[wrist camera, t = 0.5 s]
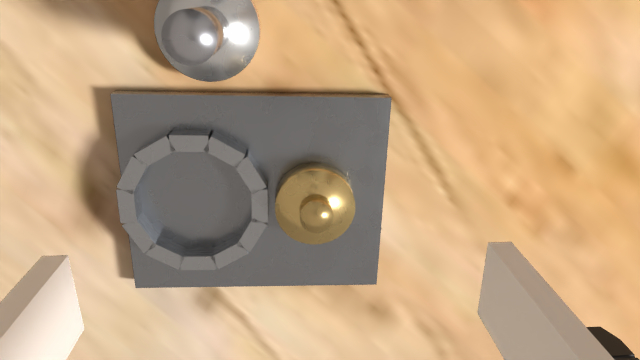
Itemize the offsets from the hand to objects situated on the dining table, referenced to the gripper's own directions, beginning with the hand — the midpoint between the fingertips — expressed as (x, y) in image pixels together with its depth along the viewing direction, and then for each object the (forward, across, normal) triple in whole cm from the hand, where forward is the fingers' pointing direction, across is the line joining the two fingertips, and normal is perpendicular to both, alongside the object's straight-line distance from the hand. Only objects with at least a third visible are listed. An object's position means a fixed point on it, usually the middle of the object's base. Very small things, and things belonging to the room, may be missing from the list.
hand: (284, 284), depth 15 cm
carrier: (+23, -2, -6) cm, 24 cm away
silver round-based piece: (+23, -5, +6) cm, 24 cm away
